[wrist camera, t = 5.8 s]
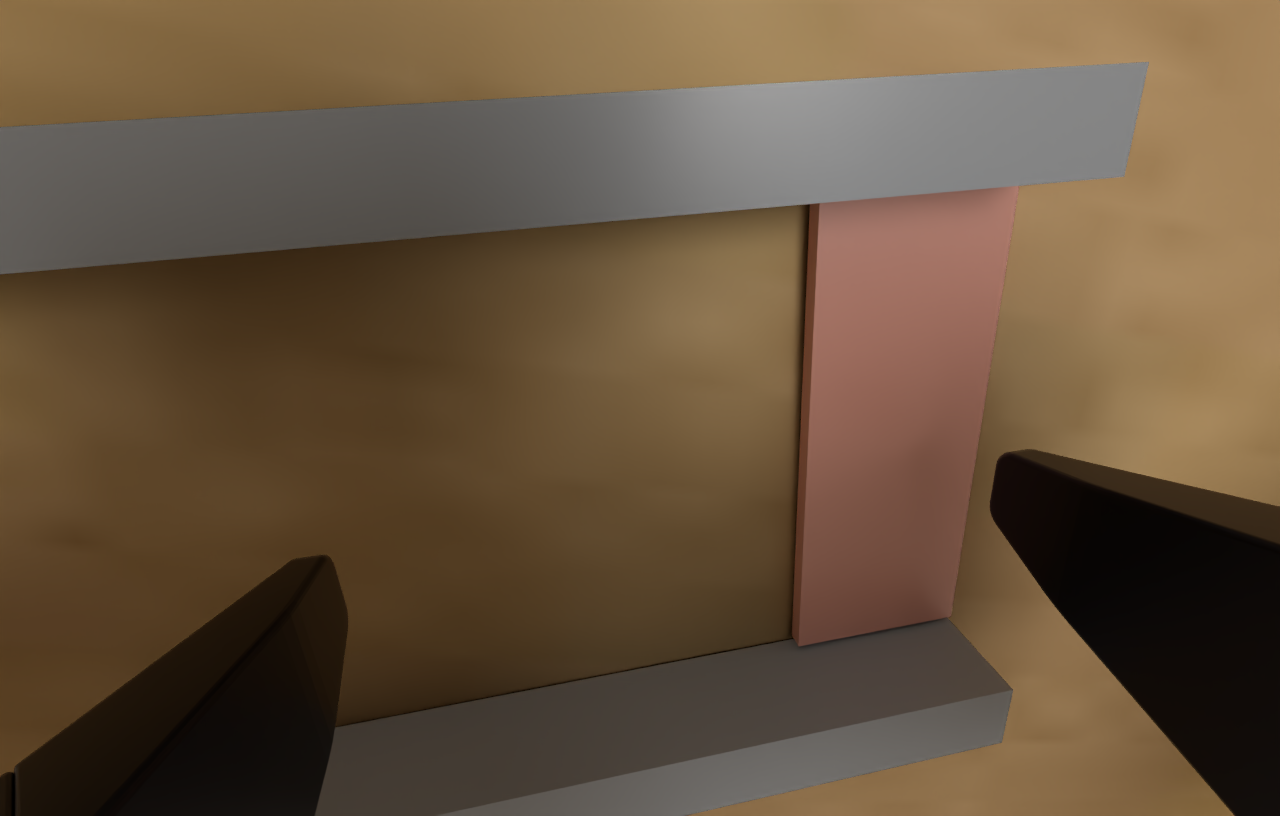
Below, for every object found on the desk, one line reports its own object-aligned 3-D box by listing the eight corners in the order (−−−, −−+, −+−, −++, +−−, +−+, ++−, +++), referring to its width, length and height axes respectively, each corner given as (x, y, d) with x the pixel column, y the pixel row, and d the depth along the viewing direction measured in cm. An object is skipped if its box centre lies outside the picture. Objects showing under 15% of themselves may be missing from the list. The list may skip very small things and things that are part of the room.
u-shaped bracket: (1021, 72, 9) (1148, 62, 8) (933, 659, 13) (1001, 742, 12) (-179, 142, 7) (-406, 150, 5) (157, 818, 11) (95, 951, 9)
